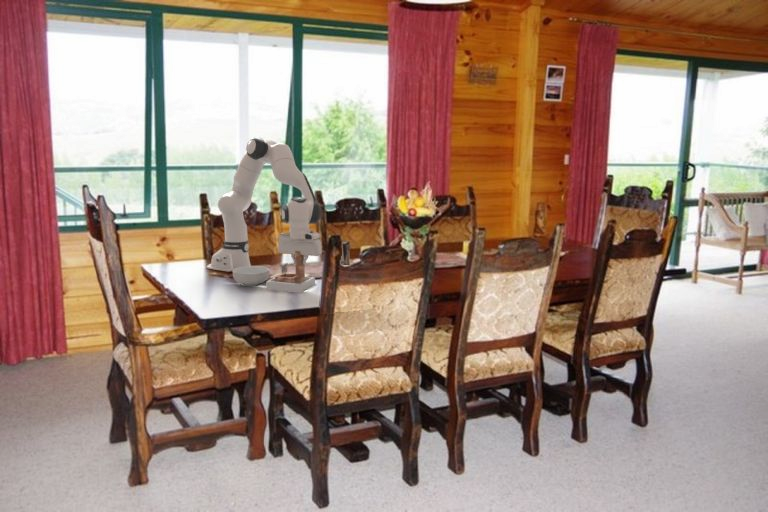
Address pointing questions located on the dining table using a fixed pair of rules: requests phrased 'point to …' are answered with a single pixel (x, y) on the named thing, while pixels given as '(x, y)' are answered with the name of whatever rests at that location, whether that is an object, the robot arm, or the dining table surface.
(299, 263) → the tabbed ring
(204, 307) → the dining table surface
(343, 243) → the coffee box
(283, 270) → the stake board
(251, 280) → the cereal bowl
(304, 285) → the grey tray
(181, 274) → the dining table surface
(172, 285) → the dining table surface
